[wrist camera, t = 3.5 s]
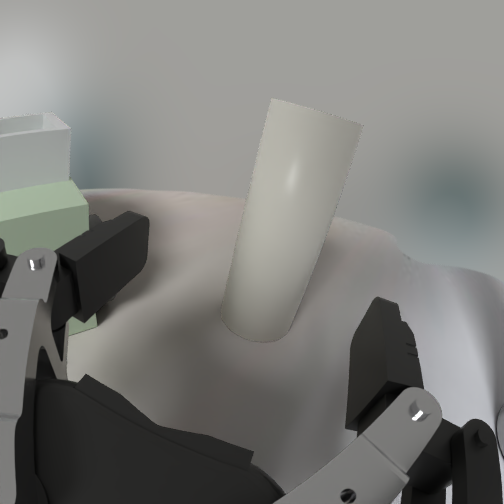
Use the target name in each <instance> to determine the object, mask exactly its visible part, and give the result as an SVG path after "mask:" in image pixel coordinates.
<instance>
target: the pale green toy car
mask: <svg viewBox="0 0 504 504" xmlns="http://www.w3.org/2000/svg"><path fill="white" fill-rule="evenodd" d="M70 140H71V128H70V127H69V126H68V125H66V124H65V123H64V122H63V121H62V120H60V119H59V118H58V117H57V116H56V115H54V114H53V113H52V112H49V113H38V114H28V115H21V116H13V117H6V118H0V238H1V239H3V240H4V242H5V248H6V253H7V254H10V255H14V256H19V255H20V254H21V253H23V252H24V251H26V250H29V249H32V248H38V247H43V248H48V249H51V250H53V251H55V250H56V249H58V248H59V247H61V246H63V245H64V244H66V243H67V242H69V241H71V240H72V239H74V238H75V237H77V236H79V235H82V233H84V232H85V231H87V230H90V228H92V227H94V226H96V225H97V224H99V223H102V221H101V220H100V218H99V217H98V216H97V215H95V214H94V215H89V204H88V202H87V201H86V200H85V198H84V197H83V195H82V194H81V192H80V191H79V189H78V188H77V187H76V185H75V184H74V182H73V181H72V179H71V177H70V176H69V159H70ZM115 295H116V294H115ZM115 295H114V296H113V297H112V298H111V299H110V300H113V299H114V298H115ZM110 300H109V301H110ZM68 323H69V336H70V335H73V334H76V333H79V332H82V331H85V330H88V329H91V328H94V327H97V320H96V313H95V314H94V315H93V316H92V317H91V318H90V319H89V320H88V321H87V322H86V323H83V322H81V321H79V320H78V319H76V318H74V317H73V316H72V317H71V318H70V319H69V320H68Z"/></svg>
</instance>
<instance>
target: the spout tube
mask: <svg viewBox="0 0 504 504" xmlns="http://www.w3.org/2000/svg"><path fill="white" fill-rule="evenodd" d="M362 129H363V125H361V124H358V123H355V122H353V121H350V120H347V119H344V118H341V117H338V116H334V115H332V114H328V113H325V112H322V111H319V110H315V109H312V108H308V107H305V106H301V105H297V104H294V103H290V102H286V101H283V100H279V99H274V98H271V102H270V106H269V110H268V114H267V118H266V121H265V125H264V129H263V133H262V137H261V141H260V145H259V149H258V154H257V158H256V162H255V166H254V170H253V174H252V178H251V183H250V187H249V191H248V195H247V199H246V203H245V207H244V211H243V216H242V220H241V224H240V228H239V233H238V237H237V241H236V245H235V250H234V254H233V258H232V263H231V267H230V271H229V276H228V280H227V285H226V289H225V293H224V298H223V302H222V307H221V317H222V319H223V321H224V323H225V324H226V326H227V327H228V328H229V329H230V330H231V331H232V332H234V333H235V334H237V335H239V336H240V337H243V338H245V339H248V340H251V341H255V342H272V341H276V340H279V339H281V338H282V337H284V336H285V335H286V334H287V332H288V331H289V329H290V326H291V324H292V322H293V319H294V317H295V315H296V312H297V310H298V307H299V305H300V302H301V300H302V298H303V295H304V293H305V290H306V288H307V285H308V283H309V280H310V278H311V275H312V273H313V270H314V267H315V265H316V262H317V260H318V257H319V254H320V252H321V249H322V246H323V244H324V241H325V238H326V236H327V233H328V230H329V228H330V225H331V222H332V219H333V217H334V214H335V211H336V208H337V205H338V202H339V199H340V197H341V194H342V191H343V188H344V185H345V182H346V179H347V176H348V173H349V170H350V167H351V164H352V160H353V157H354V154H355V151H356V148H357V145H358V142H359V139H360V135H361V132H362Z"/></svg>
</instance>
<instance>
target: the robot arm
mask: <svg viewBox="0 0 504 504" xmlns="http://www.w3.org/2000/svg"><path fill="white" fill-rule="evenodd" d="M148 236H149V219H148V218H147V217H146V216H143V215H140V214H137V213H134V212H131V211H127V212H125V213H123V214H122V215H120V216H118V217H116V218H115V219H113V220H109V221H105V222H102V223H99V224H97V225H96V226H94V227H92V228H90V230H87V231H85V232H84V233H82V235H79V236H77V237H75V238H74V239H72V240H71V241H69V242H67V243H66V244H64V245H63V246H61V247H59V248H58V249H56V250H55V251H53V250H51V249H48V248H43V247H38V248H32V249H29V250H26V251H24V252H23V253H21V254H20V255H19V256H14V255H10V254H7V253H6V248H5V242H4V240H3V239H1V238H0V504H391V503H392V501H393V500H394V499H395V498H396V497H397V495H398V494H399V493H400V492H401V490H402V497H401V504H446V487H448V486H450V485H451V484H452V504H503V498H502V482H501V472H500V463H499V455H498V448H497V442H496V437H495V434H494V432H493V431H492V429H491V428H490V426H489V425H488V424H487V423H485V422H484V421H482V420H479V419H472V420H470V421H468V422H467V423H466V424H465V425H464V426H463V427H461V428H460V427H458V426H456V425H454V424H452V423H450V422H449V421H447V420H445V419H443V418H442V411H441V407H440V405H439V403H438V401H437V400H436V399H435V397H434V396H433V395H431V394H430V393H429V392H427V391H426V390H424V385H423V379H422V374H421V368H420V363H419V358H417V357H418V352H417V348H416V343H415V338H414V334H413V332H412V331H411V329H410V328H409V326H408V324H407V323H406V322H404V321H401V316H400V311H399V306H398V304H397V303H394V302H391V301H389V300H386V299H383V298H380V297H376V298H375V299H374V300H373V301H372V303H371V305H370V307H369V309H368V310H367V312H366V314H365V316H364V318H363V319H362V321H361V323H360V325H359V326H358V328H357V330H356V332H355V334H354V336H353V339H352V342H351V347H350V366H349V385H348V400H347V412H346V423H345V429H349V430H354V431H357V438H356V439H355V440H354V441H353V442H352V443H351V444H350V445H349V446H348V447H346V448H345V449H344V450H343V451H342V452H341V453H340V454H338V455H337V456H336V457H335V458H334V459H332V460H331V461H330V462H329V463H328V464H326V465H325V466H324V467H323V468H321V469H320V470H319V471H318V472H316V473H315V474H314V475H312V476H311V477H310V478H308V479H307V480H306V481H304V482H303V483H302V484H300V485H299V486H298V487H296V488H295V489H293V490H292V491H291V492H289V493H288V494H286V495H285V493H284V492H283V490H282V489H281V488H280V486H279V485H278V484H277V483H276V482H275V481H274V480H273V479H272V478H271V477H270V476H269V475H268V474H267V473H265V472H264V471H262V470H261V469H260V468H258V467H257V466H255V465H253V464H252V463H250V462H251V459H252V456H253V453H254V451H251V450H247V449H244V448H241V447H238V446H236V445H233V444H230V443H227V442H224V441H222V440H219V439H216V438H214V437H211V436H208V435H203V434H197V433H191V432H186V431H181V430H176V429H171V428H167V427H162V426H159V425H157V424H155V423H154V422H152V421H151V420H150V419H149V418H147V417H146V416H145V415H144V414H143V413H141V412H140V411H139V410H138V409H137V408H136V407H134V406H133V405H132V404H131V403H130V402H129V401H128V400H127V399H125V398H124V397H123V396H122V395H121V394H119V393H118V392H116V391H114V390H112V389H110V388H109V387H107V386H105V385H104V384H102V383H100V382H99V381H97V380H95V379H94V378H92V377H90V376H89V375H87V374H85V375H84V376H83V378H82V379H81V380H80V381H79V382H78V383H77V382H73V381H69V380H68V377H67V351H68V336H69V323H68V320H69V319H70V318H71V317H72V316H73V317H74V318H76V319H78V320H79V321H81V322H83V323H86V322H87V321H88V320H89V319H90V318H91V317H92V316H93V315H94V314H95V313H96V312H97V311H98V310H99V309H100V308H101V307H102V306H103V305H104V304H106V303H107V302H108V301H109V300H110V299H111V298H112V297H113V296H114V295H115V294H116V293H117V292H119V291H120V290H121V289H122V288H123V287H124V286H125V285H126V284H127V283H128V282H129V281H131V280H132V279H133V278H134V277H135V276H136V275H137V274H138V273H139V272H140V271H141V270H142V269H143V267H144V265H145V263H146V260H147V252H148ZM497 433H498V439H499V444H500V448H501V450H502V453H503V456H504V406H503V407H502V408H501V410H500V412H499V415H498V420H497Z"/></svg>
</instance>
